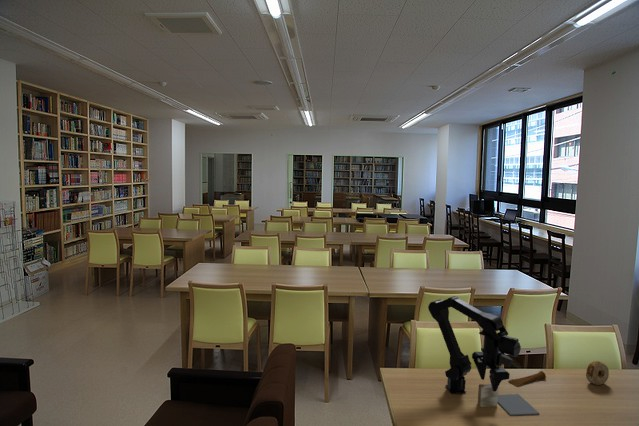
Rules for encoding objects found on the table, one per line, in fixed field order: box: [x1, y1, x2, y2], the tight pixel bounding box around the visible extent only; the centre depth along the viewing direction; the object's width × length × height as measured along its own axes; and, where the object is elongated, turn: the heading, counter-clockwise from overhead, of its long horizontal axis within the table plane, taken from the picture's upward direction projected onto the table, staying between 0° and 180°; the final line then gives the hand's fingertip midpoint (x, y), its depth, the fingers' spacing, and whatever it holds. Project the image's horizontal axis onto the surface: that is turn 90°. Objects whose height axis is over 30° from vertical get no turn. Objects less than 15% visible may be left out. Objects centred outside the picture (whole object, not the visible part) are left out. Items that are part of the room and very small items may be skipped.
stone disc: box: [585, 360, 610, 386], centre depth 185 cm, size 10×4×10 cm, turn 104°
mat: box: [497, 393, 541, 417], centre depth 166 cm, size 12×14×1 cm
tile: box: [477, 383, 499, 408], centre depth 166 cm, size 7×2×8 cm, turn 96°
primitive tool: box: [507, 370, 547, 388], centre depth 187 cm, size 19×6×4 cm, turn 114°
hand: (488, 385), depth 165 cm, fingers open, 9 cm apart
